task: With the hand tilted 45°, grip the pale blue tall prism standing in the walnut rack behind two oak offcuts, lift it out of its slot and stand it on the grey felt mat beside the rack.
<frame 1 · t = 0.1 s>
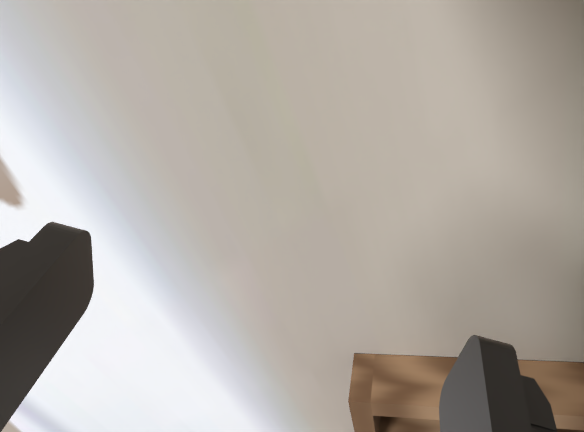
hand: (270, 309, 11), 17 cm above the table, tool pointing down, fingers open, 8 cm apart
rack: (489, 390, 39), on the table
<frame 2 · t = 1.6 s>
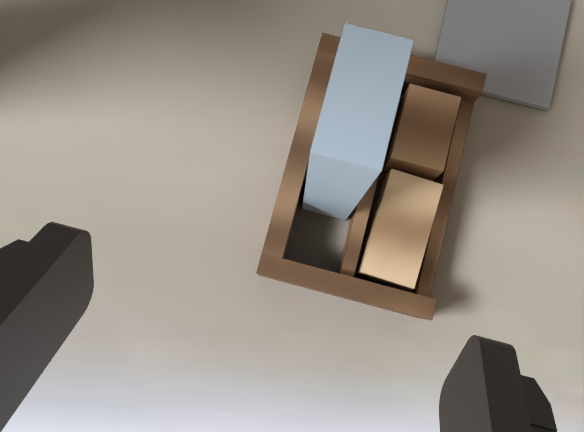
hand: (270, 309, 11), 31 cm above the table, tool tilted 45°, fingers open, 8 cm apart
mat: (499, 41, 45), on the table
rack: (334, 173, 43), on the table
offcut short: (414, 142, 44), resting in rack
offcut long: (392, 234, 43), resting in rack
pale blue tall prism: (345, 143, 35), in the rack
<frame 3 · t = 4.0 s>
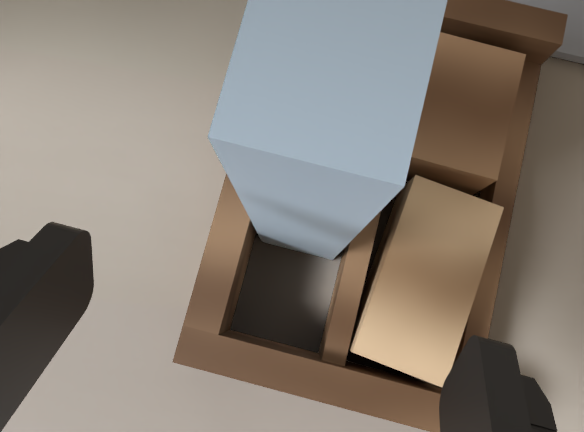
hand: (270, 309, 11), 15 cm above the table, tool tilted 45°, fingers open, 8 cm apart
rack: (314, 183, 27), on the table
offcut short: (442, 132, 27), resting in rack
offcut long: (409, 281, 26), resting in rack
pale blue tall prism: (324, 130, 18), in the rack
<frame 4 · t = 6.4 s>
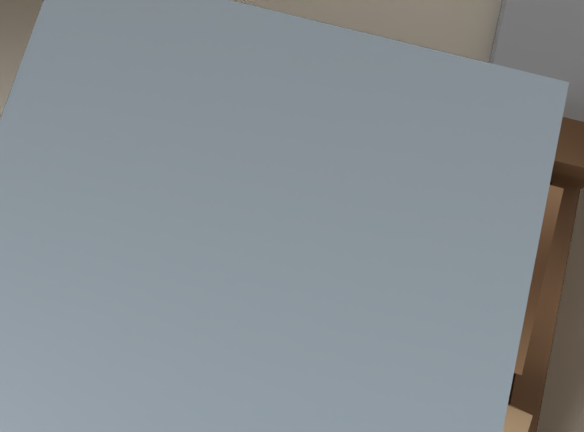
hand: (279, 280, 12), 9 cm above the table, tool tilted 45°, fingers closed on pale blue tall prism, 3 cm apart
rack: (272, 340, 20), on the table
offcut short: (444, 268, 20), resting in rack
pale blue tall prism: (257, 370, 11), in the rack, touching gripper
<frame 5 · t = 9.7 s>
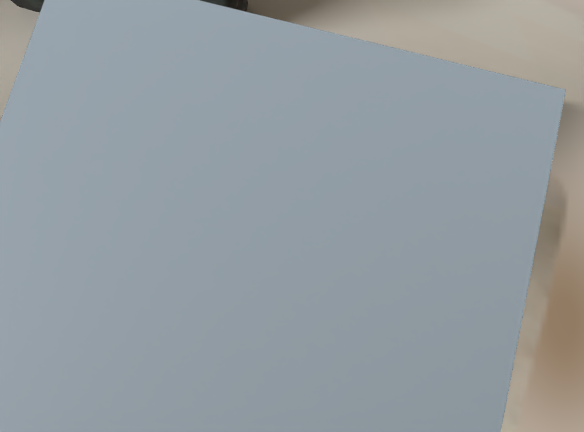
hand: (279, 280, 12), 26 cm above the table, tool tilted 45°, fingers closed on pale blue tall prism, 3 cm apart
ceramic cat: (139, 14, 41), on the table
pale blue tall prism: (256, 372, 11), point 26 cm above the table, touching gripper
when the fingers open (10 cm above the table, at t = 13.2 s): pale blue tall prism stays where it is, resting on mat.
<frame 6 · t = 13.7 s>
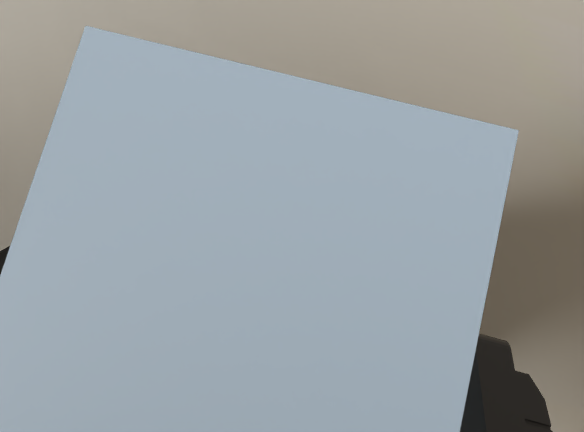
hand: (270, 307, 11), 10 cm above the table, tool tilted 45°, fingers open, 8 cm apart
pale blue tall prism: (257, 372, 12), on the mat, point 9 cm above the table
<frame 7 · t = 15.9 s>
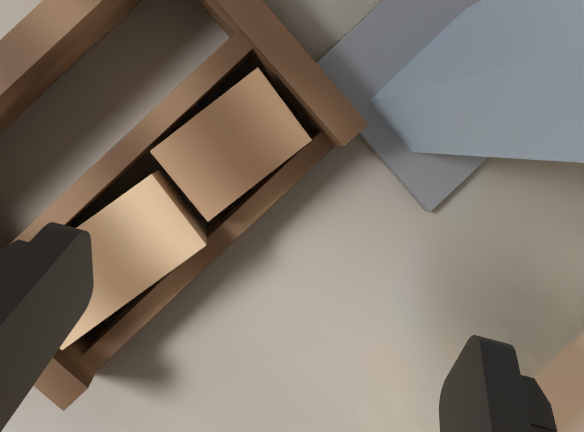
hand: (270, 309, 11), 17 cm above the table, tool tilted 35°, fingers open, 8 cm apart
mat: (435, 80, 28), on the table
rack: (85, 118, 26), on the table
offcut short: (229, 144, 27), resting in rack
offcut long: (121, 245, 27), resting in rack
pale blue tall prism: (535, 56, 20), on the mat, point 9 cm above the table
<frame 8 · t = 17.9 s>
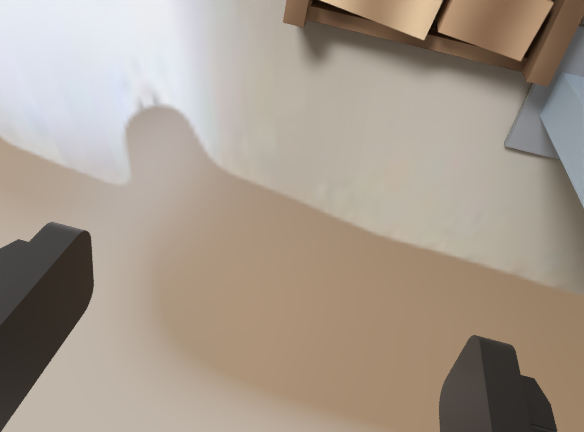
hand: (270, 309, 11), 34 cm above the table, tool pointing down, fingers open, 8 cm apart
offcut short: (487, 3, 38), resting in rack
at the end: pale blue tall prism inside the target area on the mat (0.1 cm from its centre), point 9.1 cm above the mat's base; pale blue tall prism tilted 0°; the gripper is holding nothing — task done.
